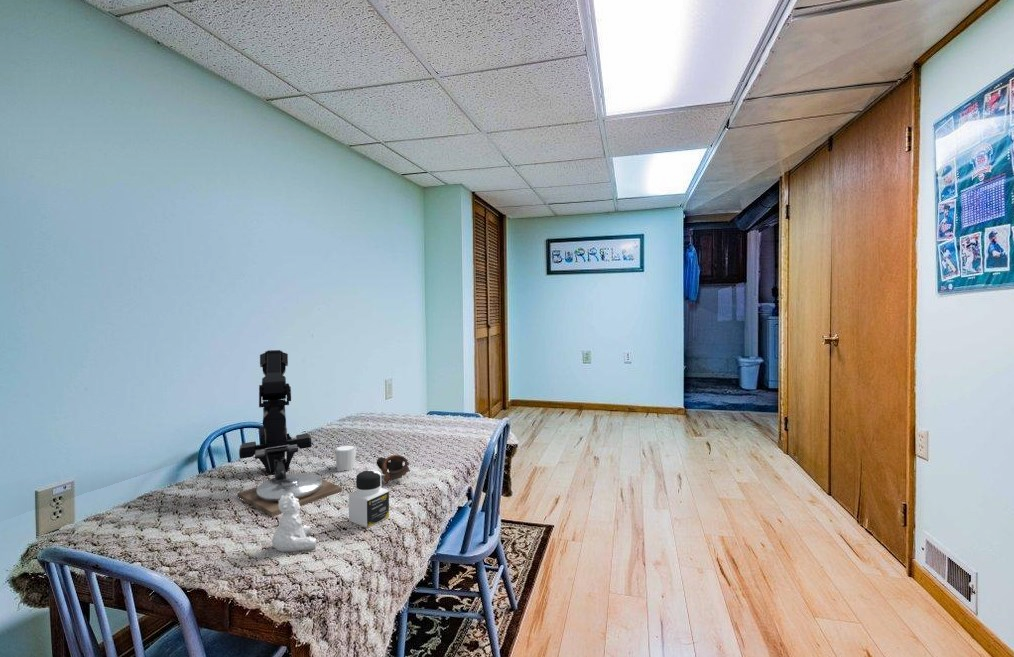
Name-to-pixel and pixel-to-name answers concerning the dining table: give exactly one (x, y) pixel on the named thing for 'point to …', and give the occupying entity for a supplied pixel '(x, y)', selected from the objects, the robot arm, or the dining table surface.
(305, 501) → the walnut board
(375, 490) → the medicine bottle
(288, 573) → the dining table surface
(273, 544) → the sitting furry creature
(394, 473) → the pottery mug
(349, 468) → the shot glass
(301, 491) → the handwheel
